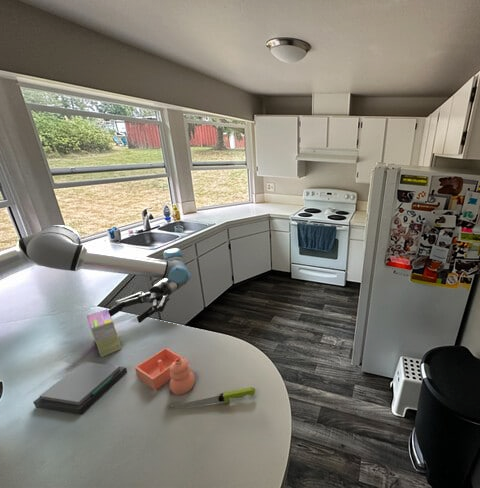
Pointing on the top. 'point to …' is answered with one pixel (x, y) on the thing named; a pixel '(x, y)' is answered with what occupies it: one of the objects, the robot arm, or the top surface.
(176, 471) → the top surface
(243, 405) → the top surface
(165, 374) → the pottery
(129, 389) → the top surface
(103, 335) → the box
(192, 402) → the kitchen knife
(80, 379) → the scale
